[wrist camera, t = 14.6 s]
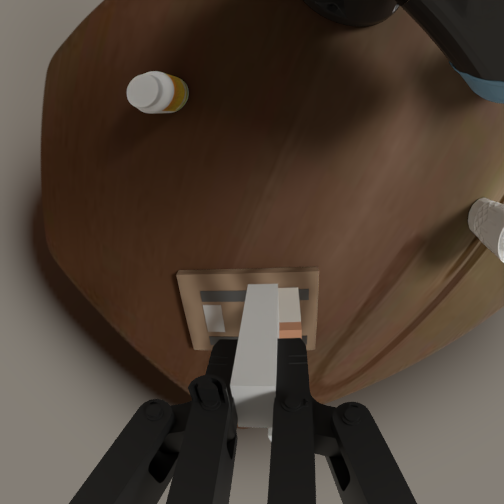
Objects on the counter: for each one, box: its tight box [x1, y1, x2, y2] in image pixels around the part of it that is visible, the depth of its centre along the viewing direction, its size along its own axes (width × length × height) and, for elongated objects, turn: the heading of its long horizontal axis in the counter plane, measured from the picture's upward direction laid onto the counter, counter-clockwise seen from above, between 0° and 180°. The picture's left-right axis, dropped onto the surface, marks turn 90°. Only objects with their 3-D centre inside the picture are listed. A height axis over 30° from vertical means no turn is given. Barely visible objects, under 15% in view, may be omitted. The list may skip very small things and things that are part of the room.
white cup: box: [468, 197, 504, 263], centre depth 35 cm, size 8×8×10 cm
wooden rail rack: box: [176, 266, 319, 350], centre depth 45 cm, size 22×16×12 cm
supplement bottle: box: [127, 71, 189, 114], centre depth 32 cm, size 5×5×10 cm
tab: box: [278, 287, 302, 339], centre depth 42 cm, size 3×3×10 cm
